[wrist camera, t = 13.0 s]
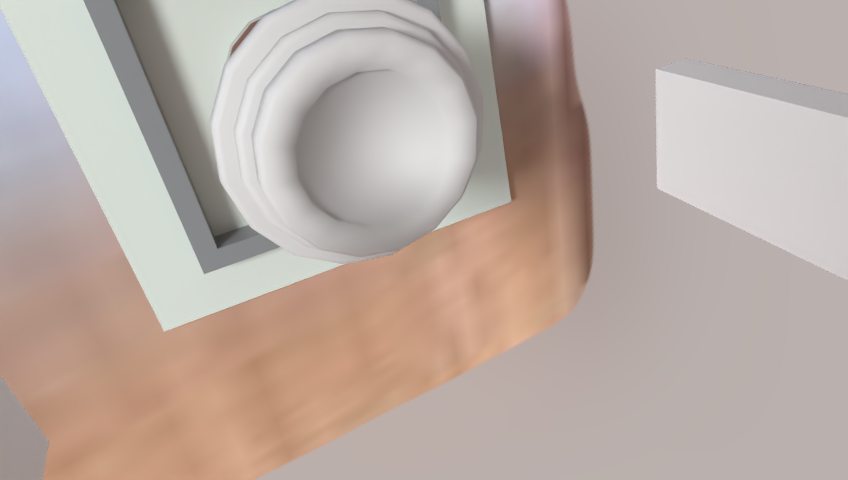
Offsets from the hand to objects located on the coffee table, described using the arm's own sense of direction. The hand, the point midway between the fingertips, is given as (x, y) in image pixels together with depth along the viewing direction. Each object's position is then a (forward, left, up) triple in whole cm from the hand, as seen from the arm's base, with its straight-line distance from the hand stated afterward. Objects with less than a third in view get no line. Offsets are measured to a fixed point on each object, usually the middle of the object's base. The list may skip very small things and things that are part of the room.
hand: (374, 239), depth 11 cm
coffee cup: (+1, +2, -19) cm, 19 cm away
